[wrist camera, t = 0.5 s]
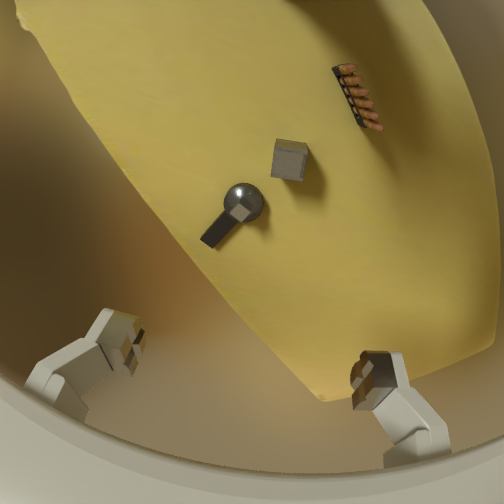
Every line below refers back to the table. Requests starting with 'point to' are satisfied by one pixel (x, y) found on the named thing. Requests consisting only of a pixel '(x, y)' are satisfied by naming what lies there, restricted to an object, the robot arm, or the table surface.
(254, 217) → the ratchet
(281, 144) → the socket
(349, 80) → the ammunition clip
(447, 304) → the table surface
